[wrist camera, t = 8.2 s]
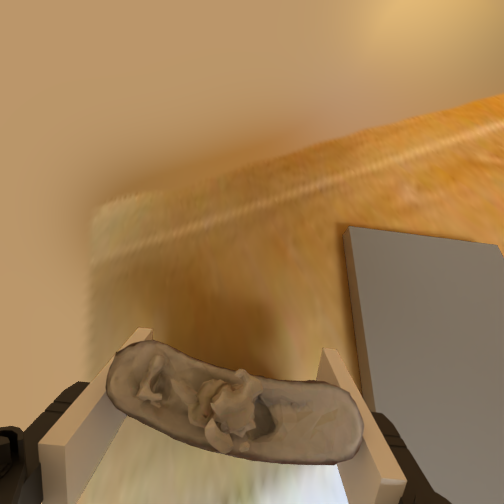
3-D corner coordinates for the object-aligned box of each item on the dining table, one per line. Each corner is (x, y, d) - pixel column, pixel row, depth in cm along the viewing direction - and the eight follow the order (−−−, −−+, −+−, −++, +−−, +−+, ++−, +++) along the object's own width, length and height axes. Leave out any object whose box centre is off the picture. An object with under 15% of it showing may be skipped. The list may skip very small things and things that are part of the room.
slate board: (483, 253, 25) (497, 244, 24) (650, 611, 13) (695, 632, 12) (342, 235, 25) (348, 225, 23) (386, 588, 13) (404, 608, 12)
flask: (304, 400, 17) (394, 384, 8) (299, 457, 15) (406, 522, 6) (166, 367, 17) (96, 315, 8) (148, 419, 15) (34, 428, 6)
